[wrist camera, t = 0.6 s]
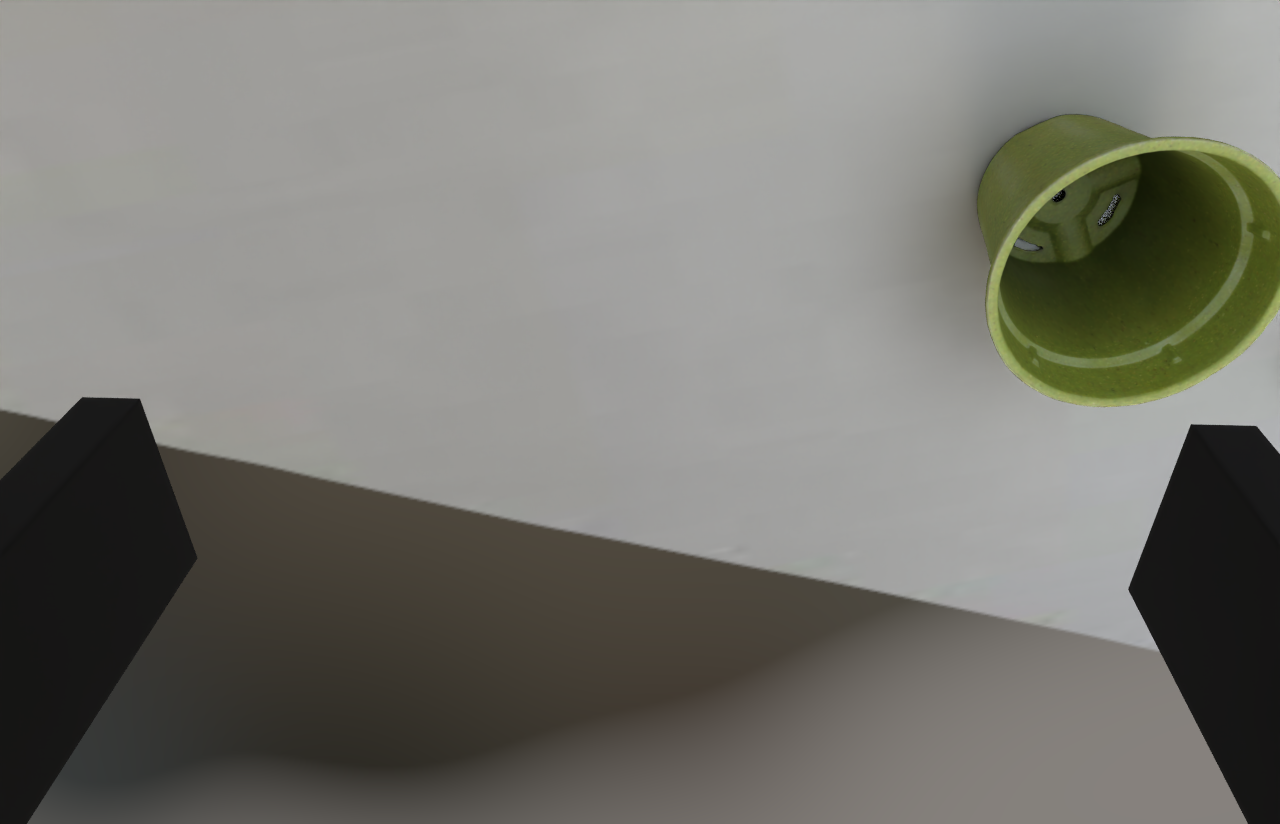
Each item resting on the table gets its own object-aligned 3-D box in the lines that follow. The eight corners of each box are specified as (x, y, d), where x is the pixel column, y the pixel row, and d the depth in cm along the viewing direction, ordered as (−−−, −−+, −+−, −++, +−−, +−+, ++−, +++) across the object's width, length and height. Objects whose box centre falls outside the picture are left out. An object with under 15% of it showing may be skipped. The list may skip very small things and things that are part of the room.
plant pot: (1001, 33, 35) (1079, 100, 27) (1235, 107, 36) (1370, 190, 28) (895, 261, 40) (937, 367, 33) (1103, 320, 41) (1188, 436, 33)
